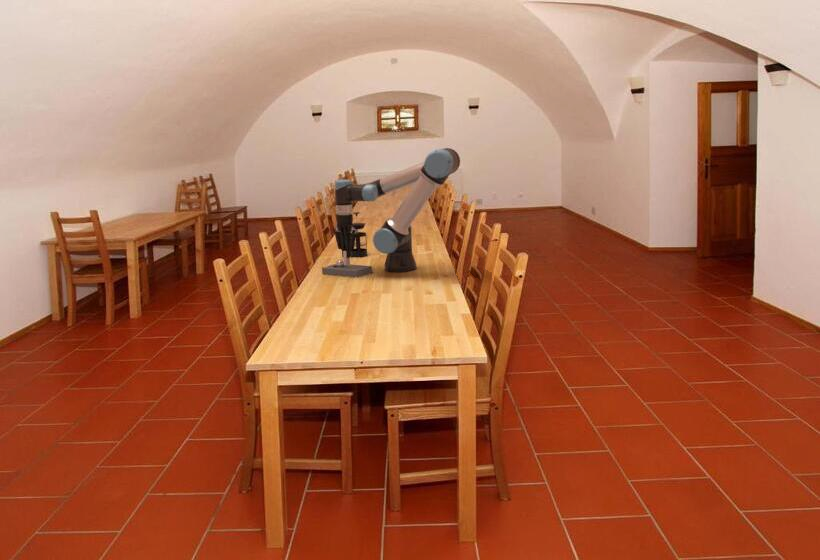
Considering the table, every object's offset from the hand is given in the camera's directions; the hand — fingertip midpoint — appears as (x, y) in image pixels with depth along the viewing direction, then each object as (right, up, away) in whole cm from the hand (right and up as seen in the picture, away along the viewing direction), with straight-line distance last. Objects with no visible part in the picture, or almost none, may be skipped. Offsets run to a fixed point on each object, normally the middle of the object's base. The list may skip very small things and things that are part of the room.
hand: (346, 264), depth 341 cm
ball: (-3, 0, +2) cm, 4 cm away
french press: (+2, +5, +44) cm, 44 cm away
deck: (0, -4, +1) cm, 4 cm away
